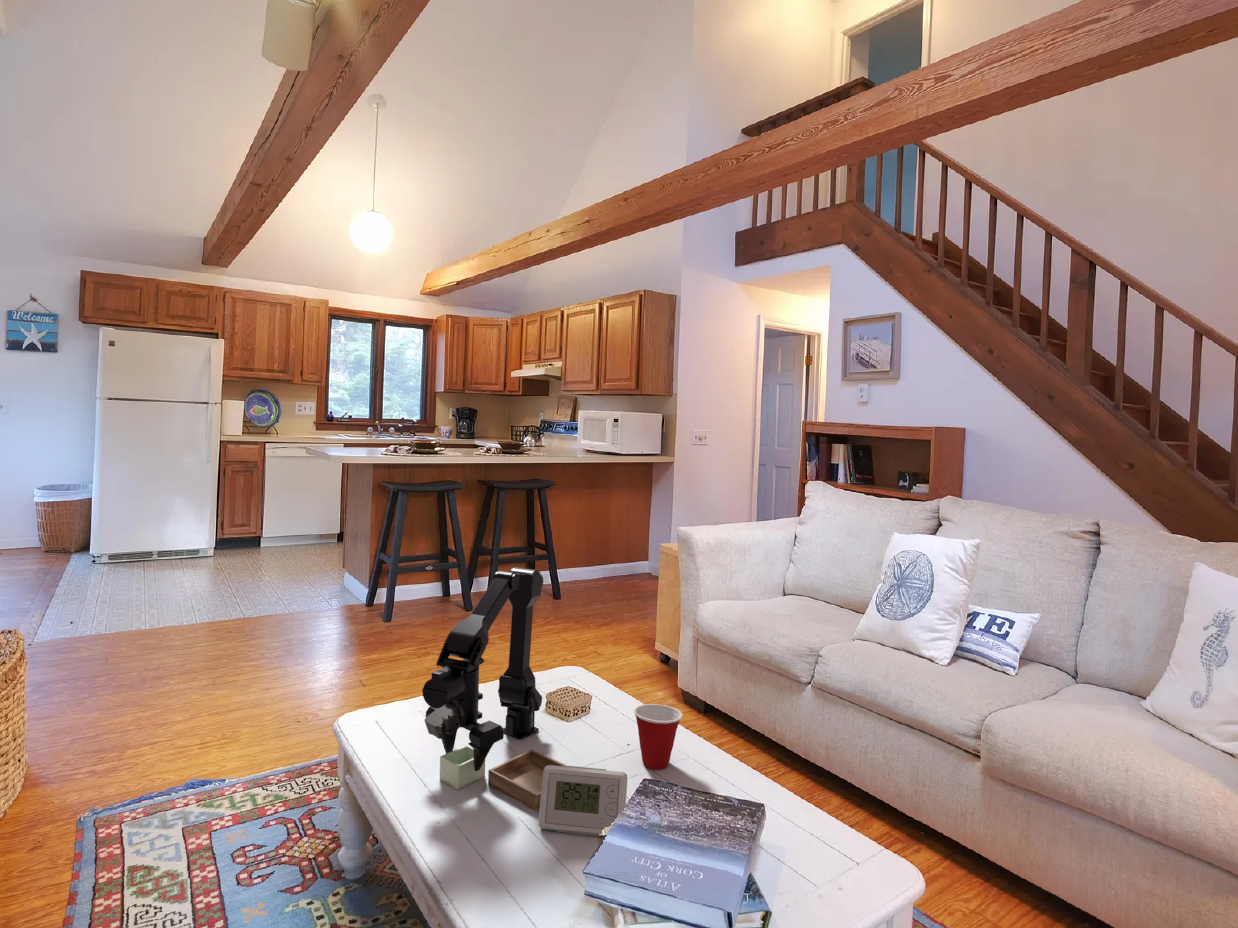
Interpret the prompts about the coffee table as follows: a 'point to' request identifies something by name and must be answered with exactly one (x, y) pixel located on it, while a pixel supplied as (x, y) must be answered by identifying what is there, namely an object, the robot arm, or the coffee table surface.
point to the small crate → (460, 768)
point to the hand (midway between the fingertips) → (462, 762)
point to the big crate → (522, 777)
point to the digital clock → (581, 799)
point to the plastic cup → (656, 733)
